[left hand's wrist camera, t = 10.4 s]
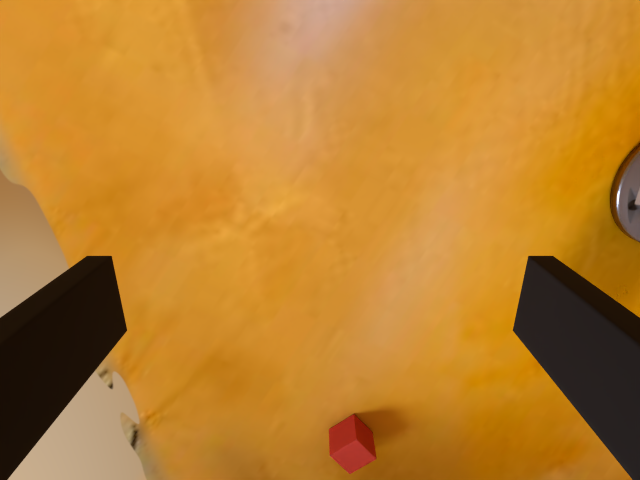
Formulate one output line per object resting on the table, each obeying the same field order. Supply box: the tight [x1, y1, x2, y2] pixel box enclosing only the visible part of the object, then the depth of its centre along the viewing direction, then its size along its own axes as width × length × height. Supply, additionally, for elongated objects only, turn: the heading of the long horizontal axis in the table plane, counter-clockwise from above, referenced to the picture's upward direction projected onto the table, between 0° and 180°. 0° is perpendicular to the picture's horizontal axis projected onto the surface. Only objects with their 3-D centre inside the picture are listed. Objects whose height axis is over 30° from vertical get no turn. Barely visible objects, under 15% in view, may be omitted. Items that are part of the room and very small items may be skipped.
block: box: [329, 414, 376, 474], centre depth 59 cm, size 5×5×5 cm
